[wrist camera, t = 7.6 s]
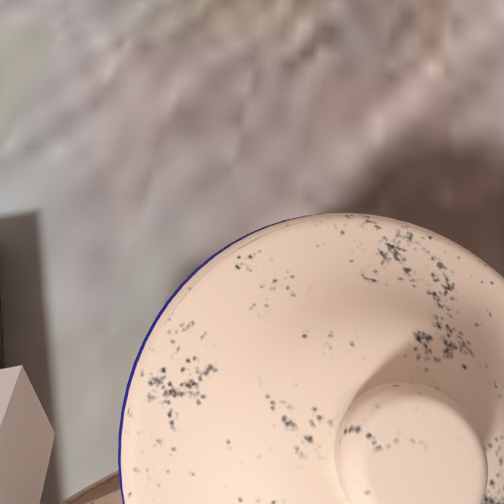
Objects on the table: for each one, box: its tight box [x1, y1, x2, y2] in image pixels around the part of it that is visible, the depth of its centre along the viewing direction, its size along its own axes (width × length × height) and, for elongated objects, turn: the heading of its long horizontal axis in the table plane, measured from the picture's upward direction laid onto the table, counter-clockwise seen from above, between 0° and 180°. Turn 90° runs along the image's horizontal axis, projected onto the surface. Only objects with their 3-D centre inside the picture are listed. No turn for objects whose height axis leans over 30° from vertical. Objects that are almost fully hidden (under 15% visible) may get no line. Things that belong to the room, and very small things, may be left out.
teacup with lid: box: [59, 213, 504, 504], centre depth 11 cm, size 12×9×12 cm
